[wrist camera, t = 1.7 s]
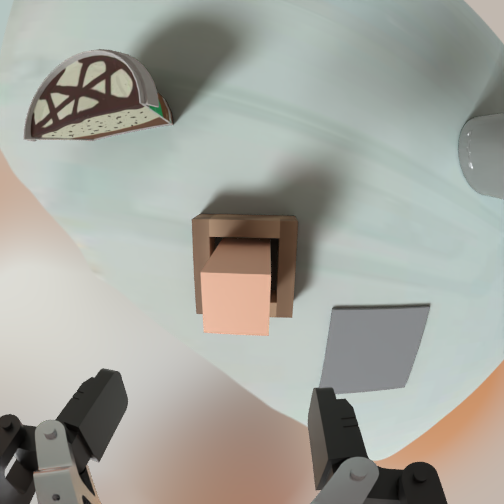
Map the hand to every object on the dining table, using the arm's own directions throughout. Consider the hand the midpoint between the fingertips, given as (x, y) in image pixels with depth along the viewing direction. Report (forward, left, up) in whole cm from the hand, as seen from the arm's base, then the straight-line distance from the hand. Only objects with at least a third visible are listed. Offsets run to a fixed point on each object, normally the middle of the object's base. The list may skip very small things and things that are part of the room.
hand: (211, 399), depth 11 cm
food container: (+12, -16, -19) cm, 28 cm away
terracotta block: (0, 0, -19) cm, 19 cm away
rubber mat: (-15, +11, -19) cm, 27 cm away
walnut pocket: (0, 0, -19) cm, 19 cm away
